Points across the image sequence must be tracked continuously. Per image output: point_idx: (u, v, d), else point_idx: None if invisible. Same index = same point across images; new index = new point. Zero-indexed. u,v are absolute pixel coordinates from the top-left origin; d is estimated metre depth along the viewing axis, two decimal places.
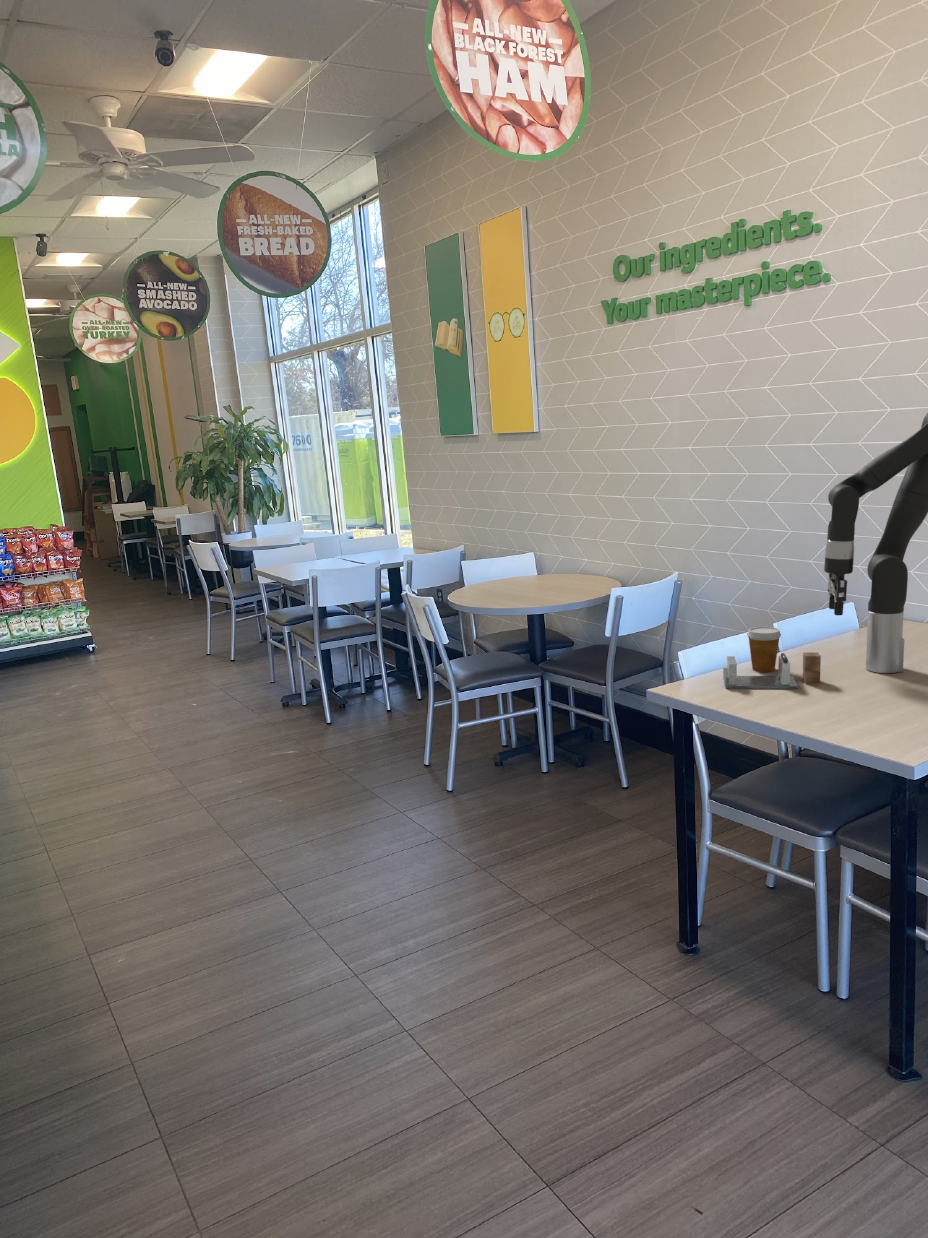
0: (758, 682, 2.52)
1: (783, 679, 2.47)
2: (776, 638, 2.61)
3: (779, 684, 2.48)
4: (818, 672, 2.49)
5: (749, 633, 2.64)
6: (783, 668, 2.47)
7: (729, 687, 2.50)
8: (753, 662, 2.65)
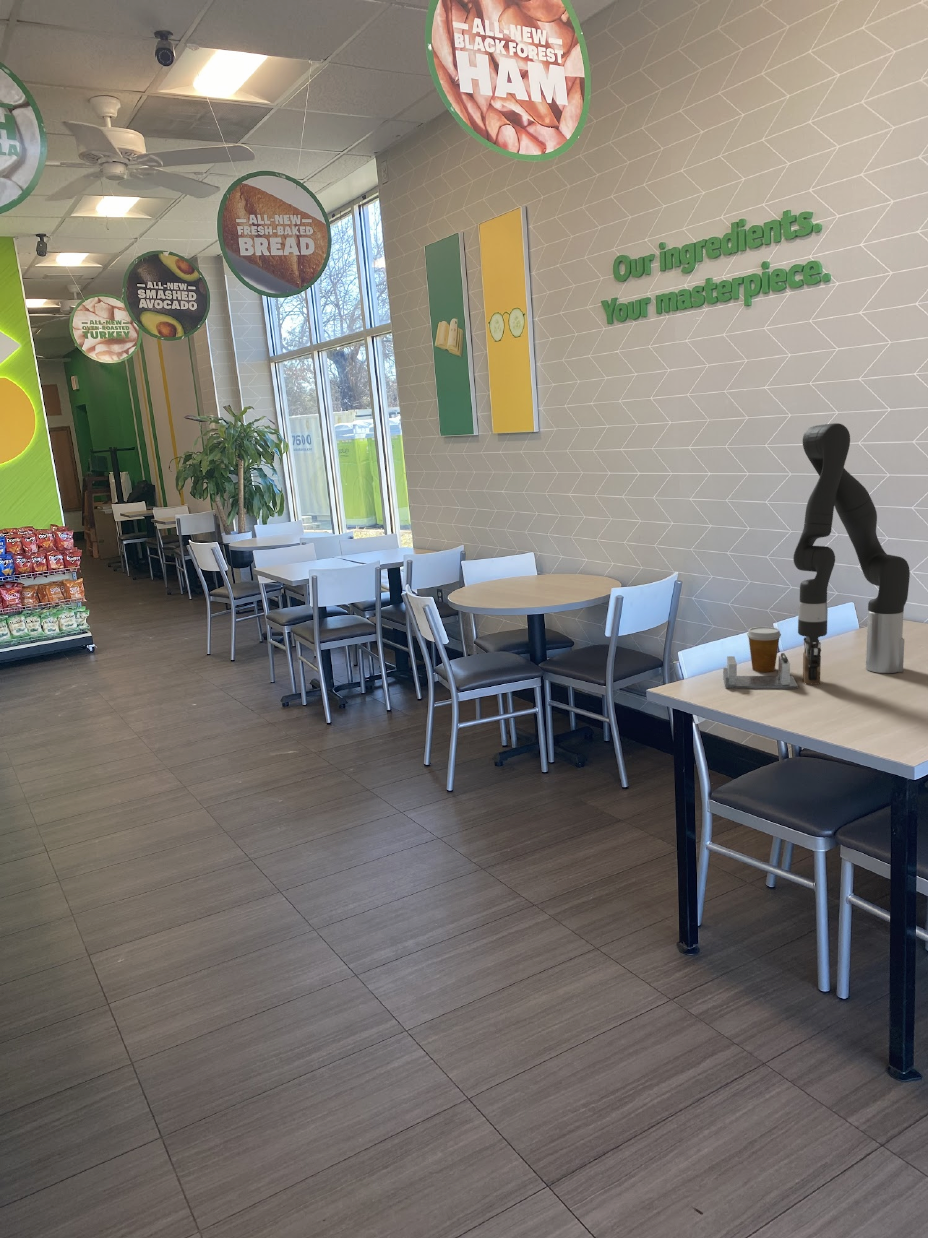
0: (758, 682, 2.52)
1: (783, 679, 2.47)
2: (776, 638, 2.61)
3: (779, 684, 2.48)
4: (818, 672, 2.49)
5: (749, 633, 2.64)
6: (783, 668, 2.47)
7: (729, 687, 2.50)
8: (753, 662, 2.65)
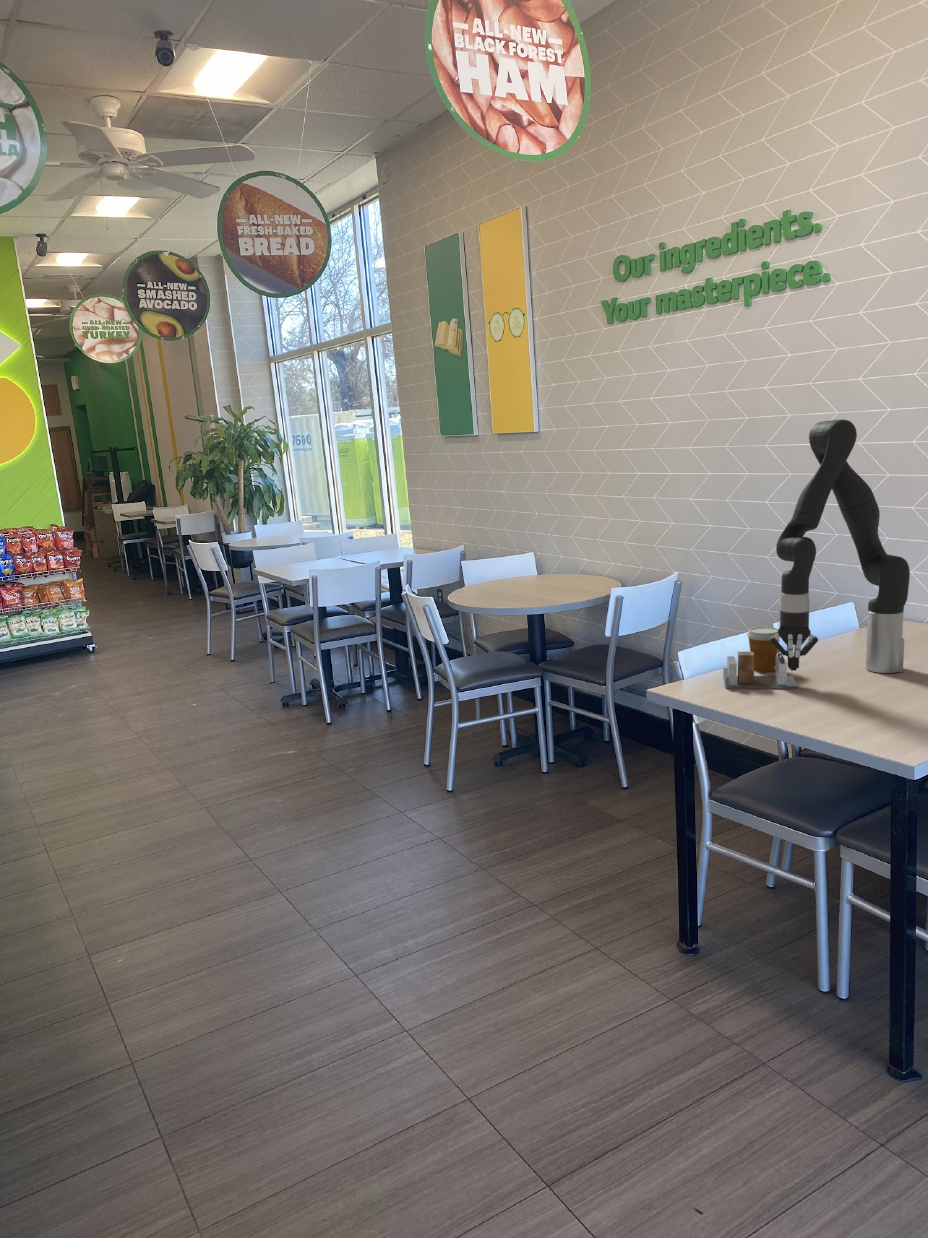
0: (758, 682, 2.52)
1: (780, 679, 2.47)
2: None
3: None
4: (752, 671, 2.51)
5: (749, 633, 2.64)
6: (780, 668, 2.47)
7: (729, 687, 2.50)
8: None
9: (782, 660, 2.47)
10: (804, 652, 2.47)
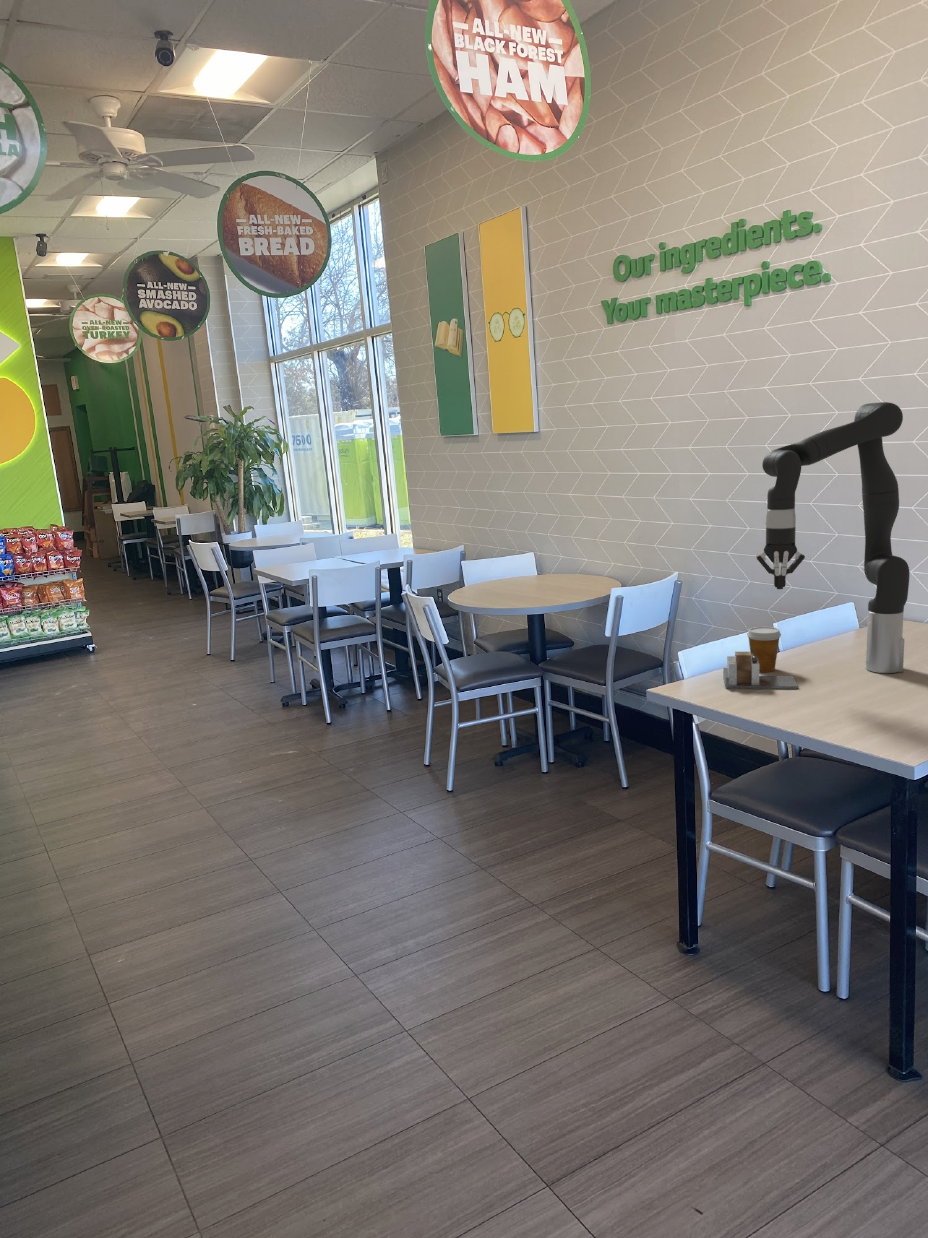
0: None
1: (753, 679, 2.49)
2: (776, 638, 2.61)
3: (779, 684, 2.48)
4: (749, 671, 2.51)
5: (749, 633, 2.64)
6: (752, 668, 2.48)
7: (729, 687, 2.50)
8: None
9: (755, 660, 2.49)
10: (790, 570, 2.43)
